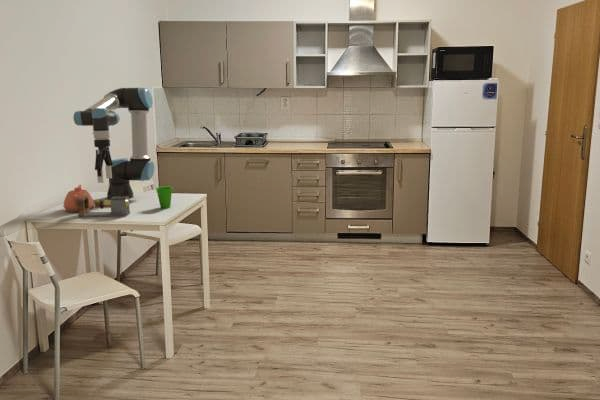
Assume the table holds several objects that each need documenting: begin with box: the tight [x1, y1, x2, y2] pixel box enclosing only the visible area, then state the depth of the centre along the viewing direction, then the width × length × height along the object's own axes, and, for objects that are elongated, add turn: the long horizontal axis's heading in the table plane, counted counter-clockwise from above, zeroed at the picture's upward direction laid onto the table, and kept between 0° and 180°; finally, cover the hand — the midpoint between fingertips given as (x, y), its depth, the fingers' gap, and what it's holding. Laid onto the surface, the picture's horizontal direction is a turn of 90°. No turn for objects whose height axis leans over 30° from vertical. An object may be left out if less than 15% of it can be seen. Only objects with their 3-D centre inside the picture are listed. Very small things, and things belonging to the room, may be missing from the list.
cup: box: [155, 186, 174, 210], centre depth 300 cm, size 9×9×11 cm
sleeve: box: [109, 196, 131, 217], centre depth 284 cm, size 7×8×9 cm
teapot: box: [63, 184, 95, 213], centre depth 297 cm, size 22×15×12 cm
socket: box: [77, 195, 91, 218], centre depth 283 cm, size 8×3×10 cm, turn 2°
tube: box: [94, 198, 130, 210], centre depth 283 cm, size 5×16×5 cm, turn 92°
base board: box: [78, 211, 129, 218], centre depth 284 cm, size 8×24×1 cm, turn 92°
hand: (105, 180), depth 281 cm, fingers open, 13 cm apart
